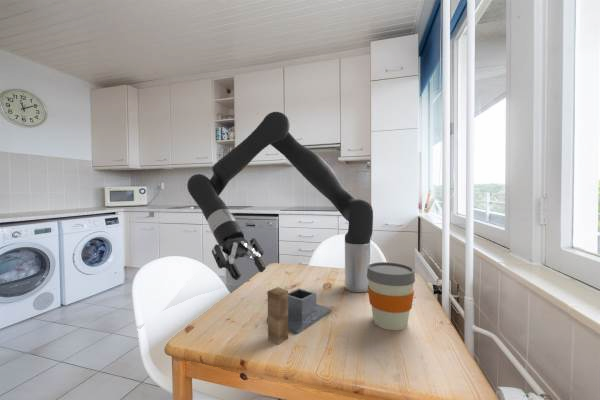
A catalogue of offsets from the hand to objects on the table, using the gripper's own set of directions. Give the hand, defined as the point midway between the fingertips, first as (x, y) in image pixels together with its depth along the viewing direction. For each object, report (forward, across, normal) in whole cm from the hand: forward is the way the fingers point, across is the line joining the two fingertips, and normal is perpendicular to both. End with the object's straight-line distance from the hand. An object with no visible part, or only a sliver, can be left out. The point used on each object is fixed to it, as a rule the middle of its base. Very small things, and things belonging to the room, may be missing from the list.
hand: (251, 274), depth 71 cm
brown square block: (+17, 0, +3) cm, 17 cm away
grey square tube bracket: (+15, +13, +5) cm, 20 cm away
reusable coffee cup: (+30, +25, -10) cm, 40 cm away
